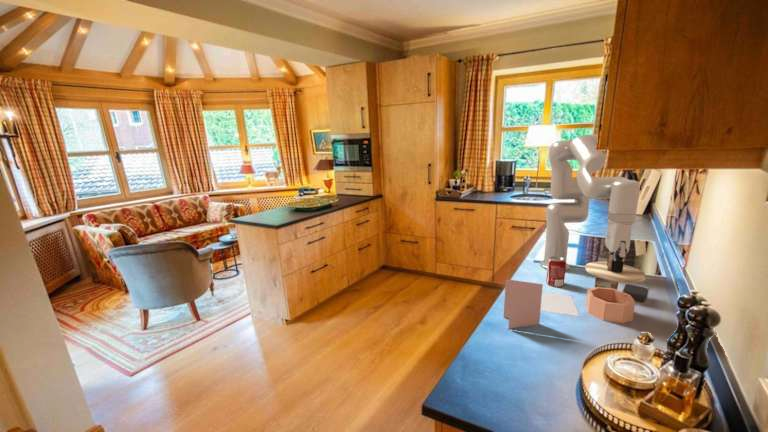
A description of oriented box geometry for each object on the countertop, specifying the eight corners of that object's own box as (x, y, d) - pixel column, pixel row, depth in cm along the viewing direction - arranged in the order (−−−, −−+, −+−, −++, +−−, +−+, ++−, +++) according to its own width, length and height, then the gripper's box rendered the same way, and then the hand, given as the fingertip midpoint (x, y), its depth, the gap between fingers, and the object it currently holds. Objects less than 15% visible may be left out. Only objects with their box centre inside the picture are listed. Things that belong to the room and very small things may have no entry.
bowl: (583, 302, 125) (585, 285, 123) (624, 307, 120) (626, 290, 119) (590, 319, 113) (592, 301, 112) (636, 326, 108) (639, 307, 107)
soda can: (566, 288, 136) (568, 261, 134) (548, 287, 138) (550, 261, 135) (560, 282, 143) (563, 256, 140) (544, 281, 144) (546, 255, 141)
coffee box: (612, 299, 127) (617, 260, 123) (593, 294, 131) (597, 256, 127) (617, 291, 133) (622, 253, 129) (599, 286, 137) (603, 250, 134)
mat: (527, 291, 135) (527, 290, 135) (571, 297, 129) (571, 295, 129) (528, 310, 121) (529, 309, 121) (578, 317, 115) (578, 316, 115)
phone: (648, 288, 134) (644, 301, 123) (647, 290, 134) (644, 303, 123) (625, 283, 139) (620, 296, 128) (625, 285, 139) (620, 297, 128)
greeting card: (539, 323, 112) (542, 283, 108) (539, 335, 105) (543, 292, 102) (503, 317, 116) (505, 278, 113) (501, 328, 110) (504, 287, 106)
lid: (581, 261, 124) (582, 246, 122) (635, 266, 118) (637, 251, 116) (590, 279, 108) (592, 262, 107) (653, 285, 102) (656, 268, 101)
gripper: (601, 211, 118) (596, 259, 122) (614, 222, 102) (607, 277, 106) (627, 212, 115) (620, 262, 119) (644, 224, 100) (635, 280, 104)
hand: (614, 268), depth 113 cm, fingers closed on lid, 4 cm apart
